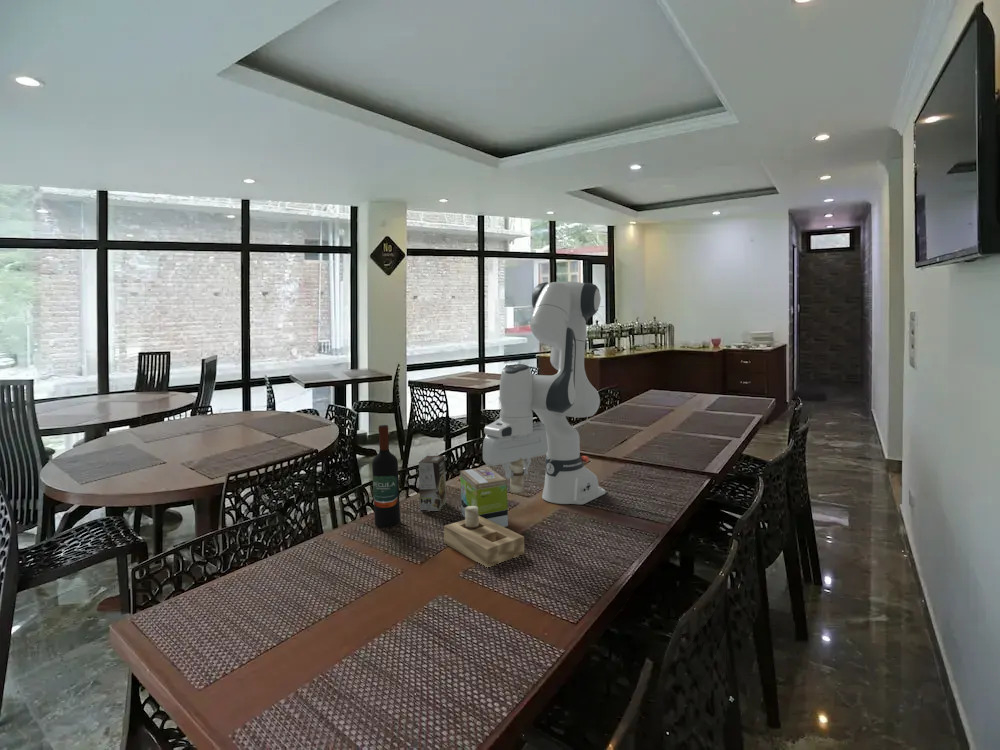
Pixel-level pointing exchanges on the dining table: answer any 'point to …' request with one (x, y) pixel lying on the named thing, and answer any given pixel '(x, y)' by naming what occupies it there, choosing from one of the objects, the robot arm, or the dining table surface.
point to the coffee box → (432, 483)
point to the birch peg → (516, 476)
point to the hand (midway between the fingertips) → (516, 476)
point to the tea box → (485, 494)
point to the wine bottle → (385, 484)
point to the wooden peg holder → (483, 539)
